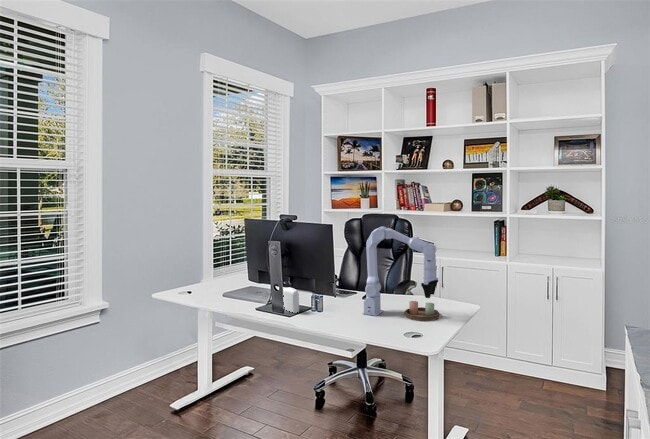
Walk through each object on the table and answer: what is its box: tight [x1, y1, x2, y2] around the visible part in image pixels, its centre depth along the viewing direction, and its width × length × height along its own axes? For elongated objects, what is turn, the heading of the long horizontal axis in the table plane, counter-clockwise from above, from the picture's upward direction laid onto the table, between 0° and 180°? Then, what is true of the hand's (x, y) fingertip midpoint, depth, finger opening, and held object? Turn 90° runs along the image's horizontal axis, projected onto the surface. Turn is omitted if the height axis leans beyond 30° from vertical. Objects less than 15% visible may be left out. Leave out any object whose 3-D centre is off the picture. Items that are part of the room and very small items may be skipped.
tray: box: [404, 306, 440, 322], centre depth 227 cm, size 16×16×2 cm
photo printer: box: [282, 286, 300, 314], centre depth 240 cm, size 10×4×12 cm, turn 39°
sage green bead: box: [424, 302, 435, 316], centre depth 225 cm, size 4×4×6 cm
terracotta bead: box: [408, 300, 419, 315], centre depth 229 cm, size 4×4×6 cm
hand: (429, 296), depth 224 cm, fingers open, 7 cm apart
